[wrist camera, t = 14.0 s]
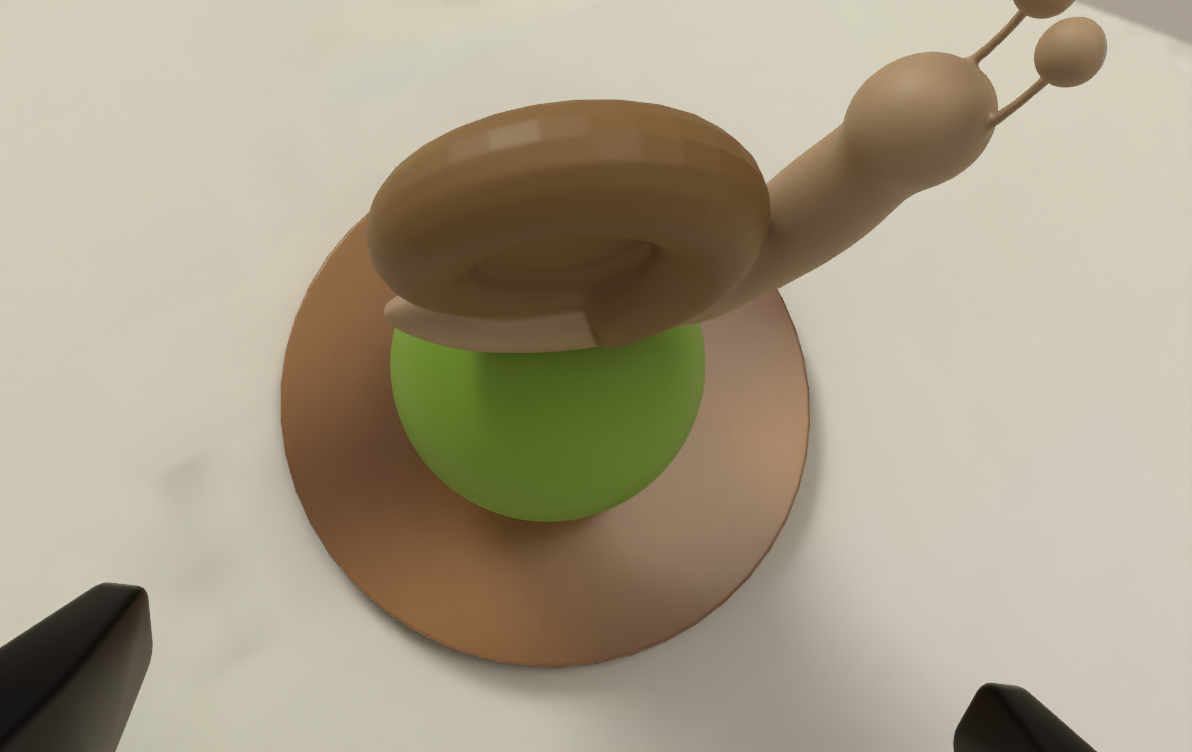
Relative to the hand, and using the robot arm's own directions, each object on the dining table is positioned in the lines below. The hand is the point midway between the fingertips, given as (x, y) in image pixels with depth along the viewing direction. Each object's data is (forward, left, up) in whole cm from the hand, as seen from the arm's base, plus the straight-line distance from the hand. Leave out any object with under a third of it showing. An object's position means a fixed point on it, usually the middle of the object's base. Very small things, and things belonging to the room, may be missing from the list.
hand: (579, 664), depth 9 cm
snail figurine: (+4, -3, -8) cm, 9 cm away
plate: (+4, -3, -8) cm, 10 cm away
